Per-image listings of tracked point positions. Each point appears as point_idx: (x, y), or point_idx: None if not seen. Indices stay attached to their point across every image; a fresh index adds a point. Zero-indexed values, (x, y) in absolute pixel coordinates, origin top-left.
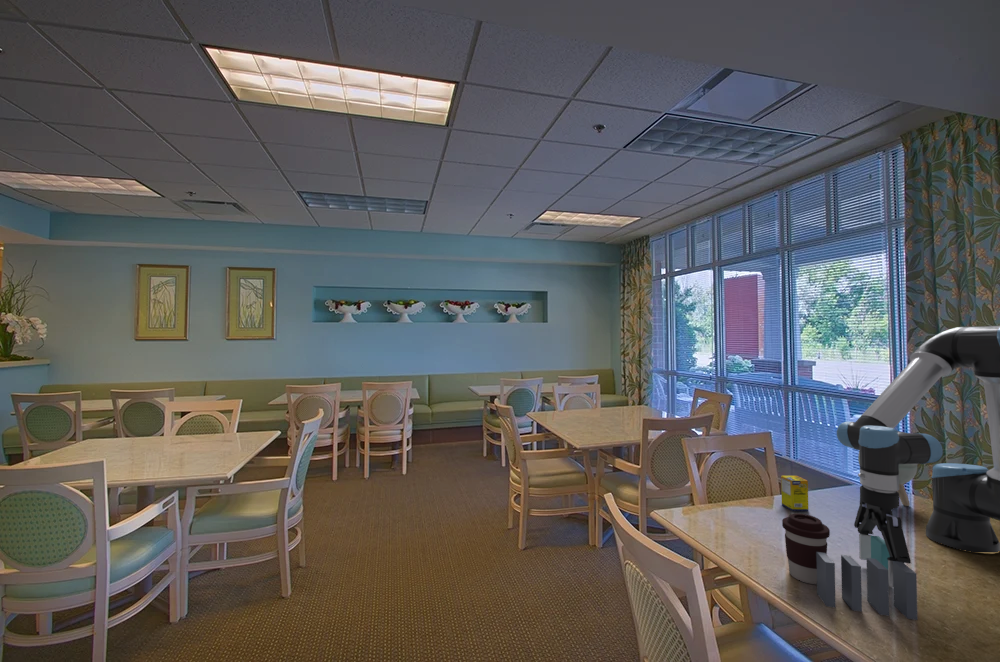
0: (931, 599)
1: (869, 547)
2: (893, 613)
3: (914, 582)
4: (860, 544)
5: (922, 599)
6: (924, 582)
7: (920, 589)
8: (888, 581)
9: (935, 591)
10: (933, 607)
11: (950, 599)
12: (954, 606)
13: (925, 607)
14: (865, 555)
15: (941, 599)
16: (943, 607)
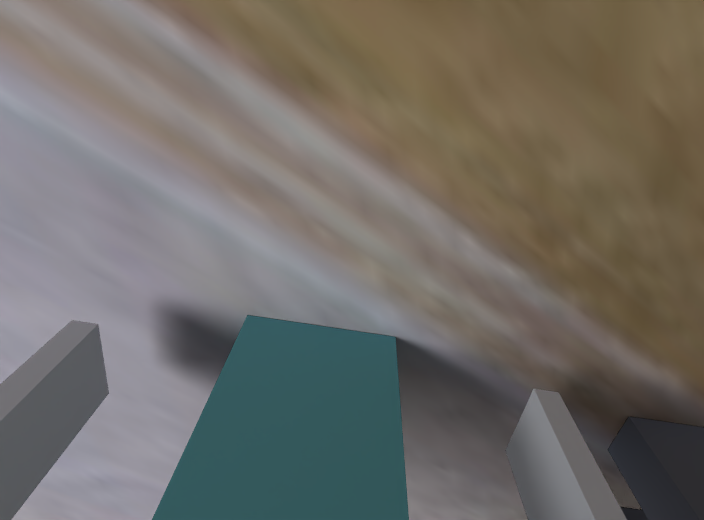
0: (576, 188)
1: (10, 440)
2: None
3: None
4: (7, 513)
5: (570, 256)
6: (288, 13)
7: (426, 159)
8: (518, 480)
9: (454, 39)
10: (675, 258)
11: (595, 2)
12: (701, 71)
13: (663, 309)
14: (80, 396)
15: (585, 99)
16: (691, 184)
